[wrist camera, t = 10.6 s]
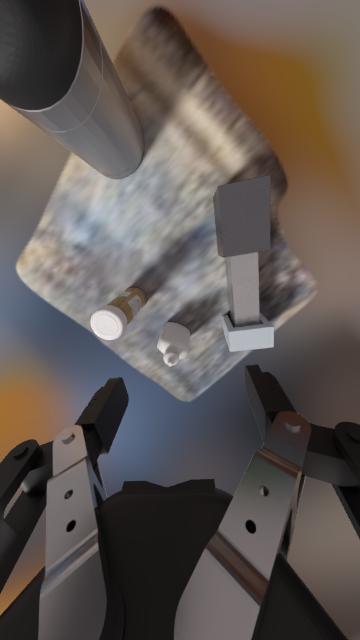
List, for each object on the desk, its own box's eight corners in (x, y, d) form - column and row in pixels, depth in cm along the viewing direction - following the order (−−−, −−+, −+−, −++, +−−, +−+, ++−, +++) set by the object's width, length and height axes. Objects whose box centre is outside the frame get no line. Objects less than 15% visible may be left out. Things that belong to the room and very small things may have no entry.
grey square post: (224, 240, 33) (229, 239, 28) (248, 235, 32) (257, 234, 28) (231, 325, 38) (236, 337, 34) (251, 323, 38) (259, 334, 33)
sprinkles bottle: (126, 283, 37) (92, 304, 25) (149, 291, 37) (126, 316, 25) (121, 305, 39) (86, 334, 26) (143, 312, 39) (119, 345, 27)
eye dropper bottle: (176, 345, 41) (170, 383, 30) (160, 326, 40) (147, 358, 29) (193, 335, 40) (192, 370, 29) (176, 314, 39) (169, 343, 28)
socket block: (222, 315, 38) (228, 332, 31) (258, 310, 37) (273, 326, 30) (223, 332, 39) (230, 351, 33) (259, 328, 39) (273, 347, 32)
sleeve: (213, 197, 31) (217, 186, 25) (254, 189, 30) (270, 175, 24) (218, 254, 34) (223, 257, 28) (255, 248, 33) (270, 249, 27)
